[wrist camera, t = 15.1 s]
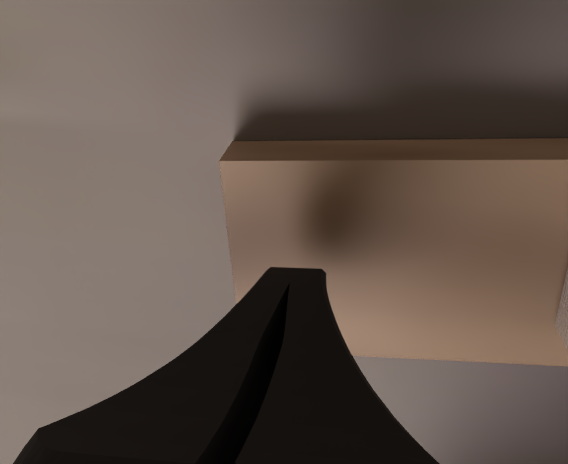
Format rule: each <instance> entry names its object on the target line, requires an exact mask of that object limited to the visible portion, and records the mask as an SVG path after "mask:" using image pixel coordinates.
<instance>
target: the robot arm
mask: <svg viewBox="0 0 568 464" xmlns="http://www.w3.org/2000/svg"><path fill="white" fill-rule="evenodd" d="M13 464H439V463H438V462H437V461H436V460H435V459H434V458H433V457H432V456H431V455H430V454H429V453H428V452H427V451H425V450H424V449H423V448H422V446H421V445H420V444H419V443H418V442H417V441H416V440H415V439H414V438H413V437H412V436H411V435H410V434H409V433H408V432H407V431H406V430H405V429H404V427H403V426H402V425H401V424H400V423H399V422H398V421H397V420H396V418H395V417H394V416H393V415H392V413H391V412H390V411H389V409H388V408H387V407H386V406H385V404H384V403H383V402H382V400H381V399H380V398H379V397H378V395H377V394H376V393H375V391H374V390H373V389H372V387H371V386H370V384H369V383H368V381H367V380H366V378H365V376H364V375H363V373H362V372H361V370H360V368H359V367H358V365H357V363H356V362H355V360H354V358H353V356H352V354H351V352H350V350H349V349H348V347H347V344H346V342H345V340H344V338H343V336H342V334H341V331H340V329H339V327H338V324H337V322H336V319H335V316H334V313H333V311H332V308H331V304H330V301H329V297H328V293H327V285H326V272H325V271H324V270H323V269H316V268H287V267H270V268H269V269H268V270H266V271H265V273H264V274H263V275H262V276H261V277H260V279H259V280H258V281H257V282H256V283H255V284H254V286H253V287H252V288H251V289H250V290H249V291H248V292H247V293H246V295H245V296H244V297H243V298H242V299H241V300H240V301H239V302H238V303H237V304H236V305H235V306H234V307H233V308H232V309H231V310H230V311H229V313H228V314H227V315H226V316H225V317H224V318H223V319H221V320H220V321H219V322H218V323H217V324H216V325H215V326H214V327H213V328H212V329H211V330H210V331H208V332H207V333H206V334H205V335H204V336H203V337H202V338H201V339H199V340H198V341H197V342H196V343H195V344H194V345H192V346H191V347H190V348H188V349H187V350H186V351H184V352H183V353H182V354H180V355H179V356H178V357H176V358H175V359H174V360H172V361H171V362H169V363H168V364H166V365H165V366H163V367H161V368H160V369H158V370H157V371H155V372H153V373H152V374H150V375H149V376H147V377H146V378H144V379H142V380H141V381H139V382H137V383H136V384H134V385H132V386H130V387H129V388H127V389H125V390H123V391H121V392H119V393H118V394H116V395H114V396H112V397H110V398H108V399H106V400H104V401H102V402H100V403H98V404H95V405H93V406H91V407H89V408H87V409H85V410H82V411H80V412H77V413H75V414H73V415H70V416H68V417H66V418H63V419H61V420H59V421H56V422H54V423H51V424H49V425H46V426H44V427H41V428H39V429H38V430H37V431H36V432H35V434H34V435H33V436H32V438H31V439H30V440H29V442H28V443H27V444H26V445H25V447H24V448H23V449H22V451H21V452H20V454H19V455H18V457H17V459H16V460H15V462H14V463H13Z"/></svg>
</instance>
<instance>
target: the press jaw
mask: <svg viewBox="0 0 568 464" xmlns="http://www.w3.org/2000/svg"><path fill="white" fill-rule="evenodd" d="M555 325H556V327H557V330H558V332H559V334H560V336H561V338H562V340H563V342H564V344H565V346H566V348H567V350H568V269H567V273H566V277H565V282H564V286H563V290H562V295H561V299H560V303H559V308H558V312H557V316H556V321H555Z"/></svg>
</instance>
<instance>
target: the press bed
mask: <svg viewBox="0 0 568 464" xmlns="http://www.w3.org/2000/svg"><path fill="white" fill-rule="evenodd" d="M219 165H220V173H221V182H222V190H223V198H224V207H225V215H226V223H227V232H228V240H229V248H230V257H231V265H232V273H233V282H234V290H235V298H236V304H237V303H238V302H239V301H240V300H241V299H242V298H243V297H244V296H245V295H246V293H247V292H248V291H249V290H250V289H251V288H252V287H253V286H254V284H255V283H256V282H257V281H258V280H259V279H260V277H261V276H262V275H263V274H264V273H265V271H266V270H268V269H269V268H270V267H287V268H316V269H323V270H324V271H325V272H326V285H327V293H328V297H329V301H330V304H331V308H332V311H333V313H334V316H335V319H336V322H337V324H338V327H339V329H340V331H341V334H342V336H343V338H344V340H345V342H346V344H347V347H348V349H349V350H350V352H351V354H352V356H371V357H391V358H411V359H431V360H451V361H471V362H491V363H511V364H531V365H551V366H568V350H567V348H566V346H565V344H564V342H563V340H562V338H561V336H560V334H559V332H558V330H557V327H556V325H555V321H556V316H557V312H558V308H559V303H560V299H561V295H562V290H563V286H564V282H565V277H566V273H567V269H568V138H526V139H420V140H314V141H232V143H231V144H230V146H229V147H228V149H227V150H226V152H225V153H224V154H223V156H222V157H221V159H220V160H219Z"/></svg>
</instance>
